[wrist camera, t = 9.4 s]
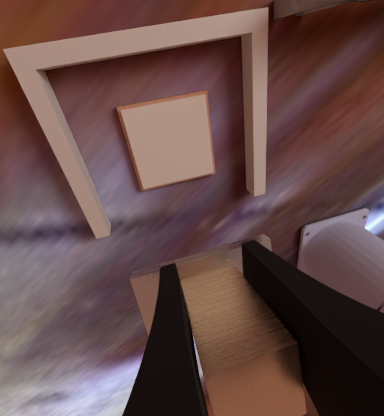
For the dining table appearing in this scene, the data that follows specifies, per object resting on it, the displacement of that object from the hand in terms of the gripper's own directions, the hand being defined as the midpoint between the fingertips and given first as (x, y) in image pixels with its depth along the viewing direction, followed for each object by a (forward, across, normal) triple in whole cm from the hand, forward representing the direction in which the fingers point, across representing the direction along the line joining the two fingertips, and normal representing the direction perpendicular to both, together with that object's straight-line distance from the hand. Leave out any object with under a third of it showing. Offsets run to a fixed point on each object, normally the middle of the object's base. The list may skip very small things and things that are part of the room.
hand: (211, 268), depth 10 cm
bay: (+10, 0, -4) cm, 10 cm away
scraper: (+2, 0, +3) cm, 4 cm away
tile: (+10, 0, -3) cm, 11 cm away
